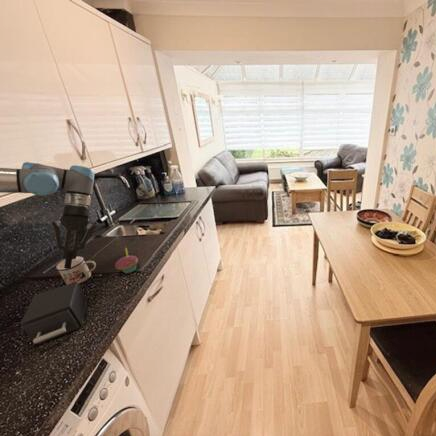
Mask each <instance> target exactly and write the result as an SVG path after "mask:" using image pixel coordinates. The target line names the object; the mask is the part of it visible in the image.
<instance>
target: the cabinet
mask: <svg viewBox="0 0 436 436" xmlns="http://www.w3.org/2000/svg"><path fill="white" fill-rule="evenodd" d="M87 304H88V298H87V297H86V294H85V293H84V291H83V289H82V288H81V286H80V283H79V284H78V283H77V282H74V283H70V284H65V285H61V286H59V287H55V288H52V289H49V290H45V291H43V292H40V293H36V294H34V295H33V297H32V299H31V301H30V303H29V305H28V306H27V309H26V311H25V313H24V315H23V316H22V318H21V320H20V322H19V324H20V326H21V327H22V328H23V327H24V325H25V324H28V323H30V322H32V321H35V320H38V319H40V318H43V317H46V316H49V315H52V314H54V313H57V312H60V311H63V310H65V309H69V310H70V312H71V313H72V315H73V317H74V318H75V320H76V321H77V323H78V324H79V328H80V327H83V324H84V318H85V316H86V315H85V314H86V309H87V306H88V305H87ZM31 339H32V338H31ZM32 341H33V339H32Z"/></svg>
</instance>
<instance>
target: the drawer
mask: <svg viewBox="0 0 436 436" xmlns="http://www.w3.org/2000/svg"><path fill="white" fill-rule="evenodd" d="M22 328H23V330H24V331H25V332H26V334H28V336H29V337H30V338H31V339H33V340H32V342H33V344H34V345H36V346H38V345H41V344H44V343H46V342H49V341H51V340H53V339H56V338H58V337H61V336H64V335H66V334H69V333H71V332H73V331H76V330H78V329H80V327H79V324H78V323H77V321H76V320H75V318H74V317H73V315H72V313H71V312H70V310H69V309H65V310H63V311H60V312H57V313H54V314H52V315H49V316H46V317H43V318H40V319H38V320H35V321H32V322H30V323H28V324H25V325H24V327H22Z"/></svg>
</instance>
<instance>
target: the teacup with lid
mask: <svg viewBox="0 0 436 436" xmlns="http://www.w3.org/2000/svg"><path fill="white" fill-rule="evenodd" d="M65 260H66V259H63V260H62V261H60V262H59V263H58V264H57V265H56V267H55V268H56V270H57V271H58V273H59V274H60V276H61V278H62V279H63V281H64V283H65V285H67V284H70V283H74V282H77V283H78V284H79V285H80V284H81V283H84V282H85V281H87V280H89V278H91V276H92V272H93V271H94V270H95V269H96V267H97V264H96V262H95V261H94V260H87V261H85V257H83V256H76V259H72V263H71V268H64V266H65ZM87 264H92V265H93V267H92V268H90V269H89V266H88V265H87Z"/></svg>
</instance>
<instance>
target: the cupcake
mask: <svg viewBox="0 0 436 436" xmlns="http://www.w3.org/2000/svg"><path fill="white" fill-rule="evenodd" d="M124 251H125V256H122V257H121V258H119V259H118V260H117V261H116V262H115V264H114V267H115V269H116V270H118V271H121V272H122V273H124V274H130V273H132V272H134V271H136V270H137V264H138V262H139V259H138V256H136V255H130V254H129V251H128V248H127V247H125V248H124Z"/></svg>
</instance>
